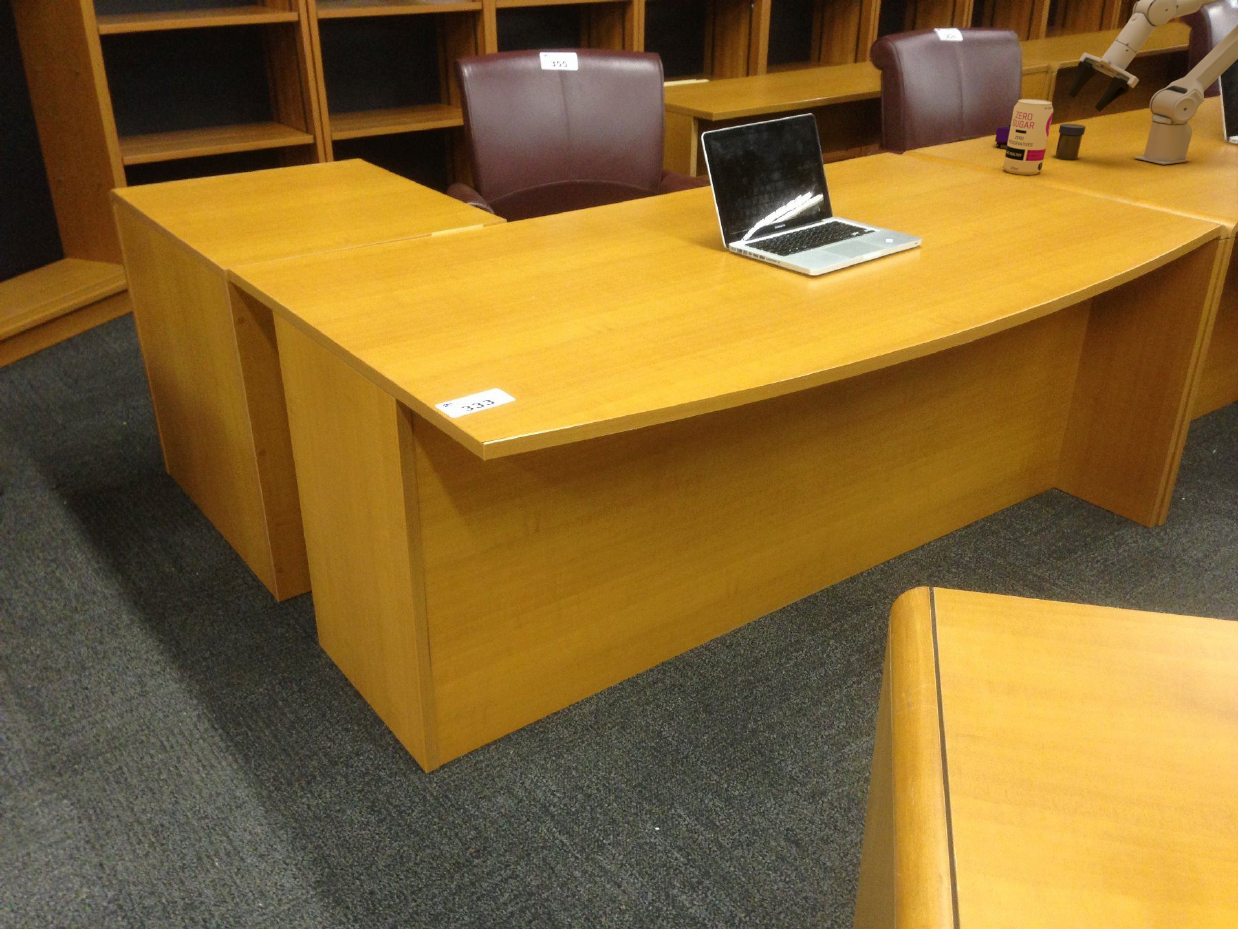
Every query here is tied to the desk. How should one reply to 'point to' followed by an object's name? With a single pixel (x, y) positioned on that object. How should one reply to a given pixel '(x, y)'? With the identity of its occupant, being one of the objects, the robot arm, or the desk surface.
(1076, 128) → the lid
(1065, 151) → the jar
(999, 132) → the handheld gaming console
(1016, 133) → the supplement can
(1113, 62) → the robot arm
